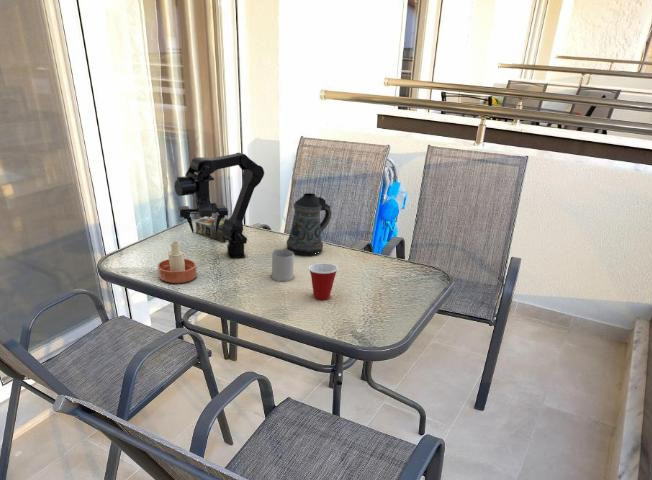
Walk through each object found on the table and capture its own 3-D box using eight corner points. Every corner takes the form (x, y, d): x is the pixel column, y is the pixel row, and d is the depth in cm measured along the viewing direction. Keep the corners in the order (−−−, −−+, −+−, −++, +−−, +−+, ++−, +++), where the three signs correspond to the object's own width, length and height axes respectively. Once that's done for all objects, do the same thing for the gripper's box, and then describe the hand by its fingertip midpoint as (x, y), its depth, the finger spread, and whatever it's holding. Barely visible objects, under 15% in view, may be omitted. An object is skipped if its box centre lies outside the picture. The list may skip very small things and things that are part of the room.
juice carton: (193, 232, 242) (192, 219, 239) (208, 228, 249) (207, 215, 246) (223, 242, 233) (223, 229, 230) (238, 238, 240) (238, 225, 237)
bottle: (187, 273, 198) (184, 240, 192) (182, 278, 194) (180, 245, 187) (173, 271, 199) (170, 239, 192) (168, 277, 194) (165, 244, 187)
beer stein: (279, 250, 228) (280, 194, 215) (304, 240, 242) (306, 186, 229) (308, 259, 221) (312, 201, 208) (333, 248, 235) (337, 193, 222)
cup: (296, 275, 205) (297, 252, 199) (287, 282, 198) (287, 258, 193) (278, 271, 207) (278, 248, 202) (268, 278, 201) (268, 254, 196)
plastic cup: (321, 288, 195) (323, 259, 189) (341, 298, 189) (344, 267, 183) (300, 295, 189) (302, 265, 182) (321, 305, 182) (323, 274, 176)
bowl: (193, 268, 204) (193, 257, 202) (199, 282, 193) (198, 270, 191) (157, 271, 200) (156, 259, 197) (160, 285, 189) (159, 273, 186)
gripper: (180, 198, 186) (183, 239, 195) (230, 197, 192) (231, 237, 201) (176, 191, 195) (179, 230, 203) (224, 190, 201) (226, 228, 209)
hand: (204, 232), depth 204 cm, fingers open, 9 cm apart
